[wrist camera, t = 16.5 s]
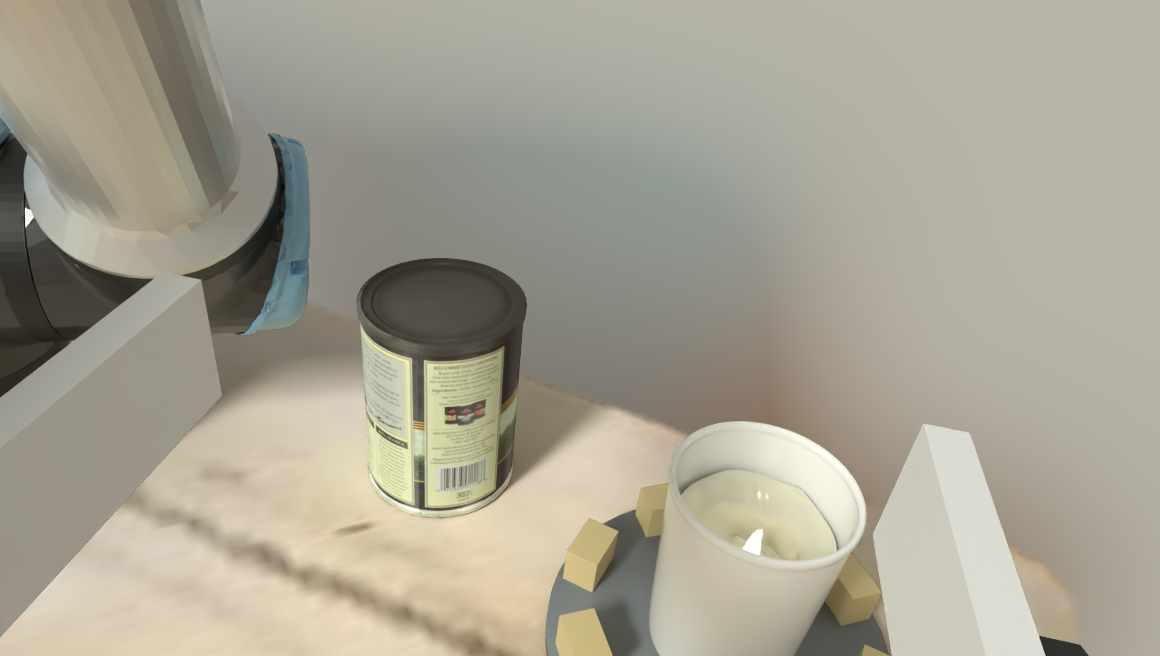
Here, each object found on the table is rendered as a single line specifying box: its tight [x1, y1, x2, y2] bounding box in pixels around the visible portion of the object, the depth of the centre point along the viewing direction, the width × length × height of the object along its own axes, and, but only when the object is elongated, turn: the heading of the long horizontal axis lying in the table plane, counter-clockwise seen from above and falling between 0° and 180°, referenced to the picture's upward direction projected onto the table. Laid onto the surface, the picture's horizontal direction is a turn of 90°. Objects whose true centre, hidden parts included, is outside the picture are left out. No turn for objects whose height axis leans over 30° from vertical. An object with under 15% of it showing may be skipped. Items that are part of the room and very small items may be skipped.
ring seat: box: [545, 483, 889, 656], centre depth 46 cm, size 20×20×4 cm
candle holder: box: [649, 421, 867, 656], centre depth 43 cm, size 10×10×12 cm
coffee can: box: [357, 258, 527, 518], centre depth 53 cm, size 10×10×14 cm
